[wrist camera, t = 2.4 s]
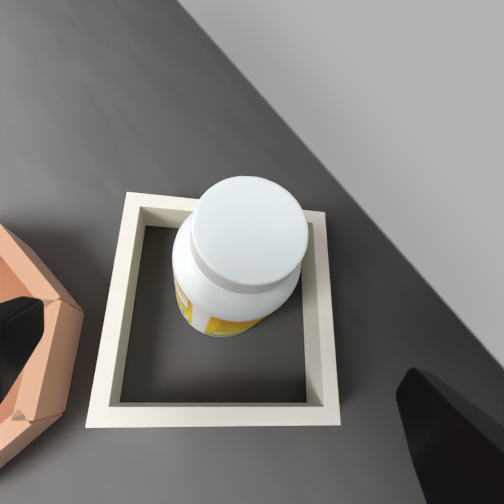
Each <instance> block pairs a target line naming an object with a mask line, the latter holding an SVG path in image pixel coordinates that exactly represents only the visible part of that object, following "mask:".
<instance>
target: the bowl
mask: <svg viewBox="0 0 504 504" xmlns="http://www.w3.org/2000/svg"><path fill="white" fill-rule="evenodd" d="M20 296H28V297H33V298H38V299H41V300H42V301H43V303H44V326H45V328H44V333H43V336H42V339H41V340H40V342H39V344H38V345H37V347H36V348H35V350H34V352H33V353H32V355H31V357H30V358H29V360H28V362H27V363H26V365H25V366H24V368H23V370H22V371H21V373H20V375H19V376H18V378H17V380H16V381H15V383H14V384H13V386H12V388H11V389H10V391H9V393H8V394H7V396H6V397H5V399H4V400H3V402H2V403H1V404H0V468H2V467H3V466H4V465H5V464H6V463H7V462H9V461H10V460H11V459H12V458H13V457H14V456H16V455H17V454H18V453H19V452H20V451H21V450H23V449H24V448H25V447H26V446H27V445H28V444H30V443H31V442H32V441H33V440H34V439H35V438H36V437H38V436H39V435H40V434H41V433H42V432H43V431H45V430H46V429H47V428H48V427H49V426H50V425H52V424H53V423H54V422H55V421H56V420H57V419H59V418H60V417H61V416H62V415H63V414H62V413H61V412H65V409H66V404H67V399H68V394H69V389H70V384H71V379H72V374H73V369H74V364H75V359H76V354H77V349H78V344H79V339H80V334H81V329H82V324H83V319H84V313H82V312H83V310H82V308H81V307H80V306H79V305H78V304H77V302H76V301H75V300H74V299H73V297H72V296H71V295H70V294H69V293H68V291H67V290H66V289H65V288H64V287H63V285H62V284H61V283H60V282H59V281H58V279H57V278H56V277H55V276H54V275H53V273H52V272H51V271H50V270H49V269H48V267H47V266H46V265H45V264H44V263H43V261H42V260H41V259H40V258H39V256H38V255H37V254H36V253H35V252H34V250H33V249H32V248H31V247H29V246H28V245H27V244H26V243H24V242H23V241H22V240H21V239H19V238H18V237H17V236H16V235H14V234H13V233H12V232H11V231H9V230H8V229H7V228H6V227H4V226H3V225H2V224H1V223H0V303H2V302H5V301H8V300H11V299H14V298H17V297H20Z"/></svg>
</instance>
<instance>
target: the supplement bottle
mask: <svg viewBox="0 0 504 504" xmlns="http://www.w3.org/2000/svg"><path fill="white" fill-rule="evenodd" d="M308 237H309V231H308V224H307V220H306V217H305V214H304V212H303V210H302V208H301V206H300V205H299V203H298V202H297V201H296V199H295V198H294V197H293V196H292V195H291V194H290V193H289V192H288V191H287V190H285V189H284V188H283V187H281V186H279V185H278V184H276V183H274V182H272V181H269V180H267V179H264V178H260V177H253V176H238V177H232V178H228V179H225V180H223V181H221V182H219V183H217V184H215V185H214V186H212V187H211V188H210V189H208V190H207V191H206V192H205V193H204V194H203V195H202V197H201V198H200V200H199V201H198V203H197V205H196V207H195V209H194V212H192V213H191V214H190V215H189V216H188V217H187V219H186V220H185V221H184V222H183V224H182V225H181V227H180V229H179V231H178V233H177V235H176V238H175V242H174V245H173V253H172V265H173V273H174V282H175V289H176V297H177V302H178V305H179V308H180V311H181V313H182V315H183V316H184V318H185V319H186V320H187V322H188V323H189V324H190V325H191V326H193V327H194V328H195V329H197V330H198V331H200V332H202V333H204V334H207V335H210V336H215V337H228V336H233V335H237V334H240V333H242V332H244V331H246V330H248V329H249V328H251V327H252V326H254V325H255V324H256V323H258V322H259V321H260V320H262V319H263V318H265V317H266V316H268V315H269V314H271V313H272V312H274V311H275V310H276V309H278V308H279V307H280V306H281V305H282V304H283V303H284V302H285V301H286V300H287V299H288V298H289V297H290V295H291V294H292V292H293V290H294V288H295V287H296V284H297V282H298V279H299V276H300V271H301V261H302V259H303V257H304V255H305V252H306V249H307V246H308Z"/></svg>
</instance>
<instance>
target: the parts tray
mask: <svg viewBox="0 0 504 504" xmlns="http://www.w3.org/2000/svg"><path fill="white" fill-rule="evenodd" d="M199 200H200V199H191V198H181V197H171V196H162V195H152V194H142V193H132V192H127V194H126V200H125V205H124V211H123V217H122V222H121V228H120V234H119V239H118V245H117V251H116V256H115V262H114V268H113V273H112V279H111V285H110V290H109V296H108V302H107V307H106V313H105V319H104V324H103V330H102V336H101V341H100V347H99V353H98V358H97V364H96V370H95V375H94V381H93V387H92V392H91V398H90V404H89V409H88V415H87V421H86V426H85V428H113V427H208V426H304V425H341V423H340V410H339V396H338V383H337V369H336V356H335V343H334V329H333V316H332V302H331V289H330V276H329V262H328V249H327V235H326V222H325V212H317V211H307V210H303V212H304V214H305V217H306V220H307V224H308V231H309V237H308V246H307V249H306V252H305V255H304V257H303V259H302V261H301V277H302V301H303V324H304V348H305V372H306V395H307V403H120V396H121V389H122V382H123V376H124V369H125V362H126V355H127V348H128V341H129V335H130V328H131V321H132V314H133V307H134V300H135V294H136V287H137V280H138V273H139V266H140V259H141V253H142V246H143V239H144V232H145V225H146V226H158V227H169V228H180V227H181V225H182V224H183V222H184V221H185V220H186V219H187V217H188V216H189V215H190V214H191V213H192V212H194V209H195V207H196V205H197V203H198V201H199Z"/></svg>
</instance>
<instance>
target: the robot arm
mask: <svg viewBox="0 0 504 504" xmlns="http://www.w3.org/2000/svg"><path fill="white" fill-rule="evenodd" d="M44 328H45V326H44V303H43V301H42V300H41V299H38V298H33V297H28V296H20V297H17V298H14V299H11V300H8V301H5V302H2V303H0V404H1V403H2V402H3V400H4V399H5V397H6V396H7V394H8V393H9V391H10V389H11V388H12V386H13V384H14V383H15V381H16V380H17V378H18V376H19V375H20V373H21V371H22V370H23V368H24V366H25V365H26V363H27V362H28V360H29V358H30V357H31V355H32V353H33V352H34V350H35V348H36V347H37V345H38V344H39V342H40V340H41V339H42V336H43V333H44ZM396 401H397V405H398V409H399V413H400V417H401V421H402V425H403V429H404V433H405V436H406V440H407V444H408V448H409V452H410V455H411V459H412V462H413V465H414V468H415V471H416V474H417V477H418V480H419V483H420V486H421V488H422V491H423V494H424V497H425V500H426V503H427V504H504V427H503V426H502V425H501V424H499V423H498V422H497V421H495V420H494V419H493V418H491V417H490V416H489V415H487V414H486V413H485V412H483V411H482V410H481V409H479V408H478V407H477V406H475V405H474V404H473V403H471V402H470V401H469V400H467V399H466V398H465V397H463V396H462V395H461V394H459V393H458V392H457V391H455V390H454V389H453V388H451V387H450V386H449V385H447V384H446V383H445V382H443V381H442V380H441V379H439V378H438V377H436V376H435V375H434V374H432V373H431V372H430V371H428V370H426V369H420V368H415V367H413V368H410V369H409V370H408V371H407V372H406V374H405V376H404V378H403V380H402V381H401V383H400V385H399V387H398V388H397V391H396Z"/></svg>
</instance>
